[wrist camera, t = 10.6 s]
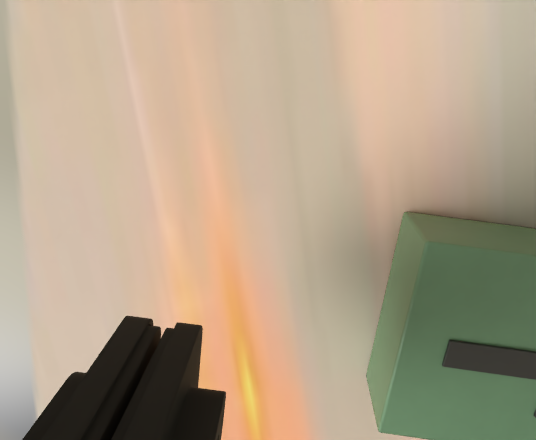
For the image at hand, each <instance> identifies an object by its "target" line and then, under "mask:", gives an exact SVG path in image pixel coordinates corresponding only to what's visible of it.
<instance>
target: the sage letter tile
mask: <svg viewBox="0 0 536 440" xmlns="http://www.w3.org/2000/svg"><path fill="white" fill-rule="evenodd" d="M366 377H367V381H368V386H369V391H370V395H371V400H372V404H373V409H374V414H375V418H376V423H377V427H378V431H379V432H381V433H388V434H394V435H401V436H408V437H415V438H422V439H429V440H536V229H535V228H527V227H519V226H511V225H504V224H496V223H488V222H481V221H473V220H465V219H458V218H450V217H442V216H435V215H427V214H419V213H412V212H404V214H403V218H402V222H401V226H400V231H399V235H398V239H397V244H396V248H395V253H394V257H393V261H392V266H391V270H390V274H389V279H388V283H387V287H386V292H385V296H384V301H383V305H382V309H381V314H380V318H379V322H378V327H377V331H376V335H375V340H374V344H373V349H372V353H371V357H370V362H369V366H368V370H367V375H366Z"/></svg>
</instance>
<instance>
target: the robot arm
mask: <svg viewBox="0 0 536 440" xmlns="http://www.w3.org/2000/svg"><path fill="white" fill-rule="evenodd" d="M201 344H202V326H201V325H194V324H186V323H177V324H176V325H175V328H174V329H173V328H166V330H165V332H164V334H163V336H162V338H161V328H160V327H158V326H153V320H152V319H148V318H140V317H133V316H126V317H125V318H124V319H123V321H122V322H121V324H120V325H119V326H118V328H117V329H116V331H115V332H114V334H113V335H112V337H111V338H110V340H109V341H108V342H107V344H106V345H105V347H104V348H103V350H102V351H101V353H100V354H99V356H98V357H97V358H96V360H95V361H94V363H93V364H92V366H91V367H90V369H89V370H88V372H87V373H81V372H75V373H73V374H71V375H70V376H69V377H68V379H67V380H66V381H65V383H64V384H63V385H62V387H61V388H60V389H59V391H58V392H57V393H56V395H55V396H54V397H53V399H52V400H51V402H50V403H49V404H48V406H47V407H46V408H45V410H44V411H43V412H42V414H41V415H40V416H39V418H38V419H37V420H36V422H35V423H34V425H33V426H32V427H31V429H30V430H29V431H28V433H27V434H26V435H25V437H24V438H23V440H221V434H222V426H223V418H224V408H225V399H226V392H224V391H216V390H209V389H201V388H198V380H199V368H200V356H201Z"/></svg>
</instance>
